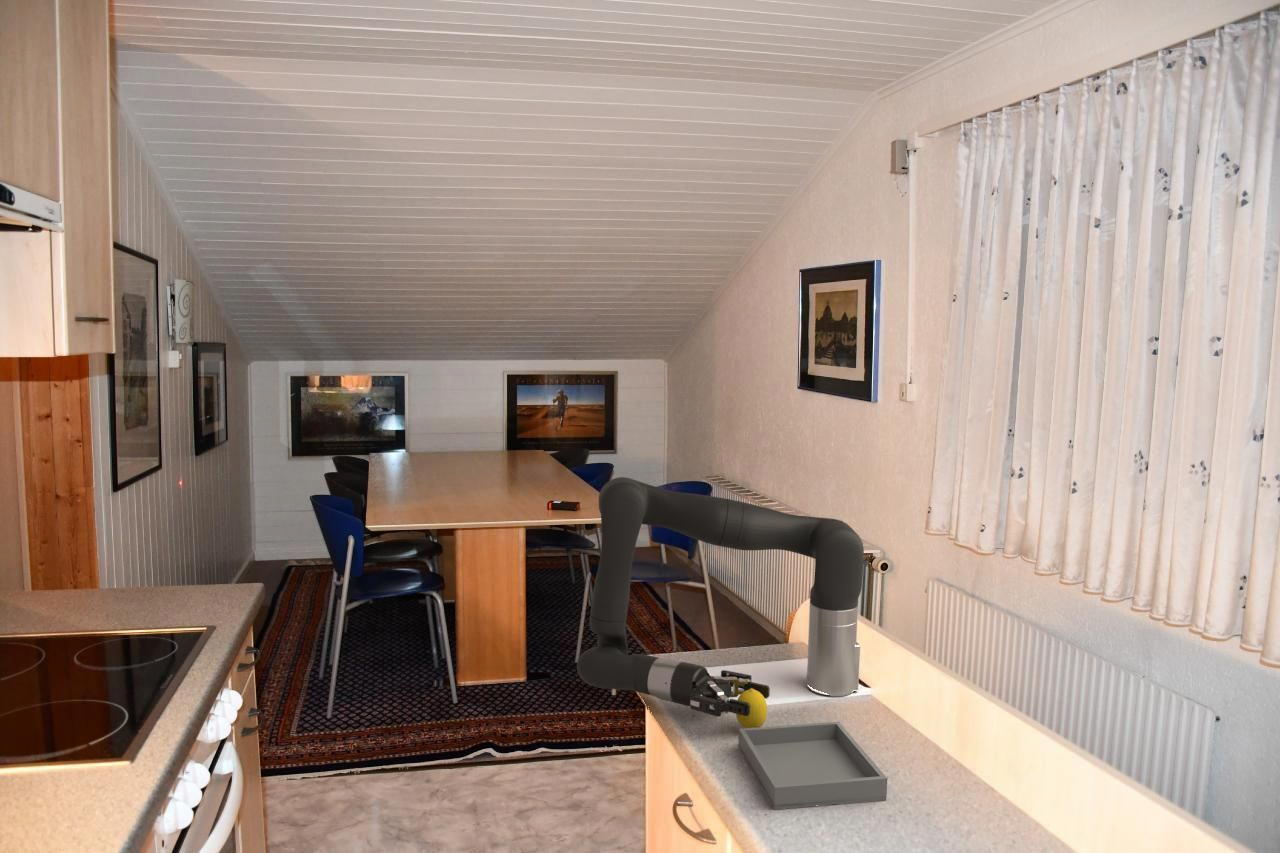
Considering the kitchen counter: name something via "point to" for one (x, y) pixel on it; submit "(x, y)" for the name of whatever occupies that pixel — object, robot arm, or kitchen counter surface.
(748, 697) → the lemon
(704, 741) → the kitchen counter surface
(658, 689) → the robot arm
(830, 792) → the tray
